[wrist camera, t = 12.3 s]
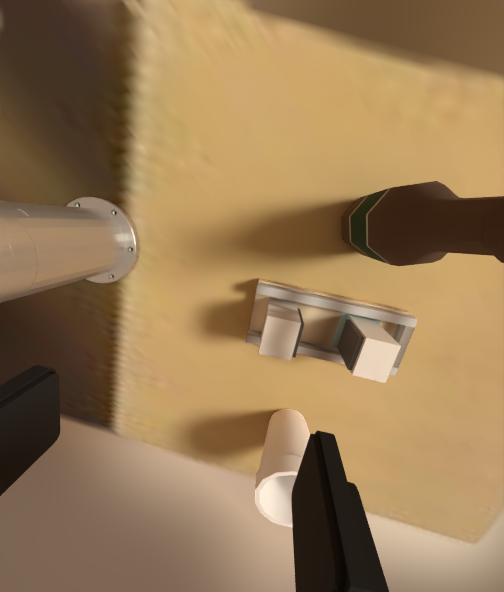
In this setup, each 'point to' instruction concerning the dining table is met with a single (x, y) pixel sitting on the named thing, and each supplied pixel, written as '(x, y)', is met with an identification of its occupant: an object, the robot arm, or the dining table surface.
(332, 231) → the dining table surface
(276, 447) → the foam cup
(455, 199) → the beer bottle
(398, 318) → the finger rail
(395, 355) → the white foam block
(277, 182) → the dining table surface
